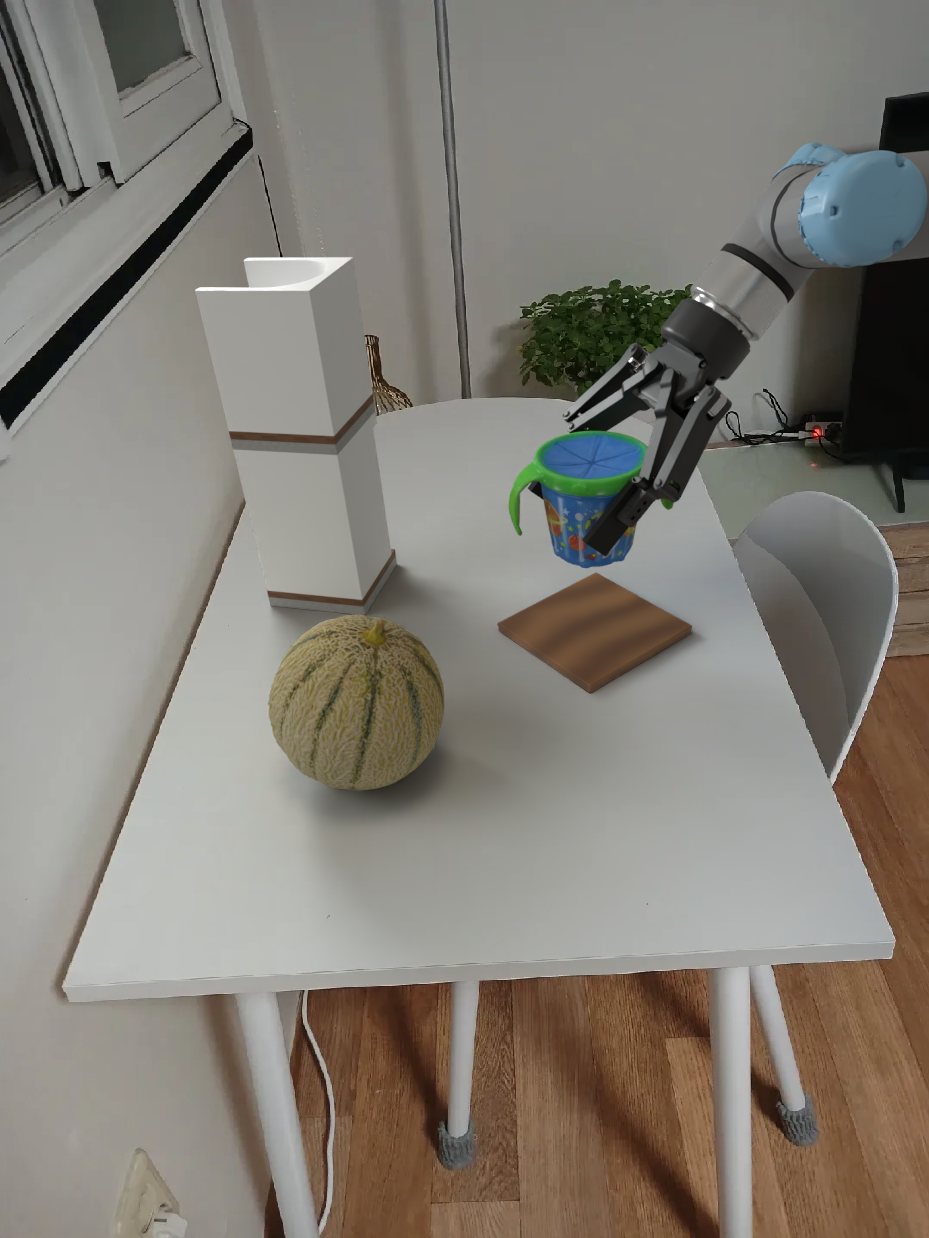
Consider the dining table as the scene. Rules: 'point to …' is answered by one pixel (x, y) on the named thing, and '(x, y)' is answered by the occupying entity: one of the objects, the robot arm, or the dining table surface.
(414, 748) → the cantaloupe
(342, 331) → the striped white pillar
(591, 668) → the wooden board
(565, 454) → the snack cup
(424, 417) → the dining table surface
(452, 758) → the dining table surface
